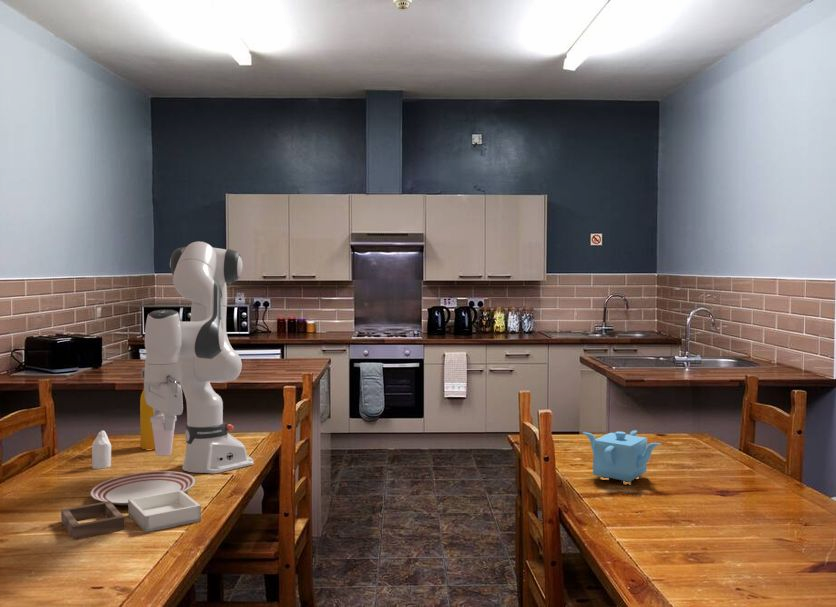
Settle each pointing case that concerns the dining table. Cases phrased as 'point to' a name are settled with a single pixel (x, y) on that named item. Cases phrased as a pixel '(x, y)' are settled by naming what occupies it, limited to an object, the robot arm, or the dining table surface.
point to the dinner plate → (141, 486)
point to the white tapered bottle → (101, 451)
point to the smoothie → (162, 435)
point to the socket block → (94, 527)
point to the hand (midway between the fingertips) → (163, 427)
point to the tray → (164, 510)
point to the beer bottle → (146, 424)
